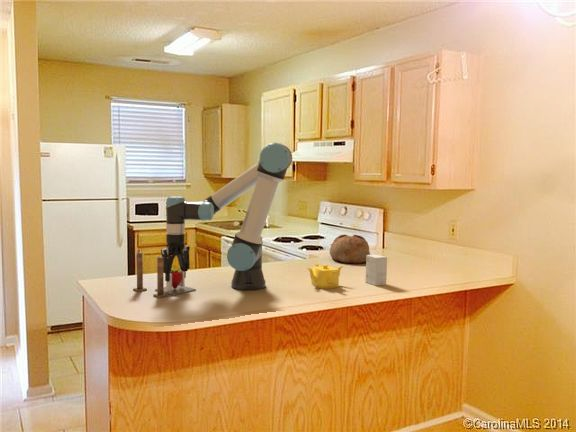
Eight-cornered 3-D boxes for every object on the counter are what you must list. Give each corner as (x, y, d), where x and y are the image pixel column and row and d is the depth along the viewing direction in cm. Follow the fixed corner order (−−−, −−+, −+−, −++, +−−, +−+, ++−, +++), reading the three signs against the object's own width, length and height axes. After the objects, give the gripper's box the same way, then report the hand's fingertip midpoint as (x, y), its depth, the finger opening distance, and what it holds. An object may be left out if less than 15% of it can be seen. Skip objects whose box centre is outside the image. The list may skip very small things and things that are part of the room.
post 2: (167, 296, 203) (167, 257, 201) (159, 298, 200) (159, 258, 198) (161, 294, 205) (161, 256, 204) (153, 296, 202) (153, 257, 201)
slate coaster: (195, 290, 213) (195, 289, 213) (173, 295, 204) (173, 294, 204) (177, 285, 220) (177, 284, 220) (155, 290, 211) (155, 289, 211)
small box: (386, 284, 231) (387, 257, 230) (375, 286, 228) (376, 257, 227) (376, 281, 238) (377, 254, 237) (365, 282, 235) (366, 254, 234)
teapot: (314, 280, 236) (315, 260, 235) (343, 283, 231) (344, 263, 230) (304, 287, 223) (305, 266, 222) (335, 291, 218) (336, 269, 217)
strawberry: (172, 291, 207) (173, 267, 207) (164, 287, 213) (164, 264, 212) (185, 289, 211) (185, 266, 211) (176, 286, 217) (176, 263, 216)
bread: (372, 265, 278) (373, 238, 277) (330, 264, 279) (331, 237, 278) (367, 256, 305) (368, 232, 303) (328, 255, 305) (329, 231, 304)
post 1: (146, 290, 211) (146, 253, 210) (138, 292, 208) (138, 254, 207) (141, 288, 214) (140, 251, 212) (133, 290, 211) (132, 253, 209)
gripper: (187, 230, 219) (187, 282, 222) (151, 234, 205) (151, 289, 207) (198, 232, 215) (198, 285, 217) (162, 236, 200) (162, 293, 202)
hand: (175, 287), depth 212 cm, fingers closed on strawberry, 6 cm apart
